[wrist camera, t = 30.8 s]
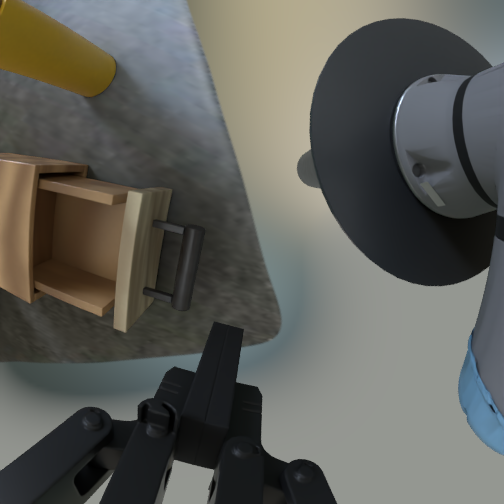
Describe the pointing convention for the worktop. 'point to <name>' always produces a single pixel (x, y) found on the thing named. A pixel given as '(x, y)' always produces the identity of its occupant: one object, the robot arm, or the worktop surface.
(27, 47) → the pepper mill
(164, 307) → the worktop surface
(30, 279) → the cabinet
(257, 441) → the robot arm
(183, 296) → the drawer
